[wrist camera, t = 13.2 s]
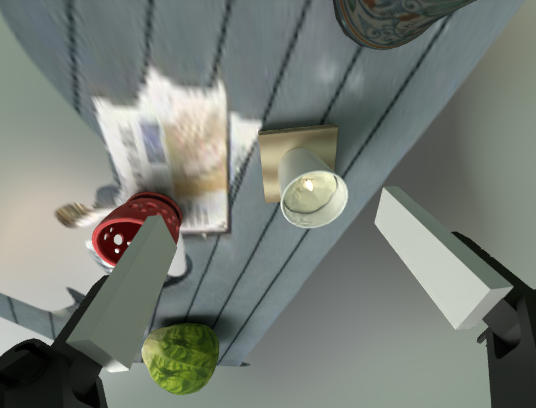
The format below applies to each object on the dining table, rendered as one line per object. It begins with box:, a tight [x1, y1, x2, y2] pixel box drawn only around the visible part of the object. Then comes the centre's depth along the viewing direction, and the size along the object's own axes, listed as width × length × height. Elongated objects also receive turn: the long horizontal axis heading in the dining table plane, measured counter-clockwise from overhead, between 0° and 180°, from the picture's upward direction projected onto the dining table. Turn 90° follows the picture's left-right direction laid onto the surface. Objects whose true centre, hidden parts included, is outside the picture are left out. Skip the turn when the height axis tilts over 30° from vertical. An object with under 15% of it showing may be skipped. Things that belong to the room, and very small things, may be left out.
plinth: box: [258, 124, 339, 203], centre depth 41 cm, size 14×14×3 cm
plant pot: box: [92, 192, 182, 267], centre depth 42 cm, size 13×13×12 cm
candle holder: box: [277, 148, 348, 228], centre depth 35 cm, size 10×10×12 cm
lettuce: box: [142, 323, 219, 395], centre depth 65 cm, size 19×23×18 cm
